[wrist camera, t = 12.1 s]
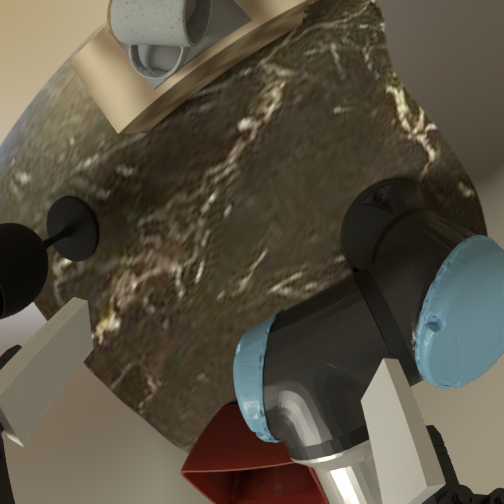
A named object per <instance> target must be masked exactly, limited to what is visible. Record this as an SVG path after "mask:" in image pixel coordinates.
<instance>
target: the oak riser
mask: <svg viewBox="0 0 504 504" xmlns="http://www.w3.org/2000/svg"><path fill="white" fill-rule="evenodd" d="M306 1H307V0H213V1H212V14H211V19H210V24H209V26H208V29H207V33H206V35H205V37H204V39H203V40H202V42H201V43H200V44H199V45H198V46H196V47H190V50H189V54H188V57H187V59H186V62H185V64H184V65H183V67H182V68H181V69H180V70H179V71H178V72H177V73H175V74H174V75H172V76H170V77H168V78H166V79H161V80H154V79H148V78H145V77H143V76H141V75H140V74H139V73H137V72H136V71H135V69H134V68H133V67H132V64H131V62H130V58H129V45H128V44H126V43H121V42H119V41H117V40H116V39H115V38H114V36H113V35H112V34H111V32H110V29H109V27H108V25H106V26H105V27H104V28H103V29H102V30H101V31H100V32H99V33H98V34H97V35H96V36H95V37H94V38H93V39H92V40H91V41H90V42H89V43H88V44H87V45H86V46H85V47H84V48H83V49H82V50H81V51H80V52H79V53H78V54H77V55H76V56H75V57H74V58H73V59H72V60H71V61H70V62H69V63H70V64H71V66H72V67H73V69H74V70H75V72H76V73H77V75H78V76H79V78H80V79H81V81H82V82H83V84H84V85H85V87H86V88H87V90H88V91H89V93H90V94H91V96H92V97H93V99H94V100H95V102H96V103H97V104H98V106H99V107H100V109H101V110H102V112H103V113H104V115H105V116H106V117H107V119H108V120H109V122H110V123H111V125H112V126H113V127H114V129H115V130H116V132H117V133H118V134H128V133H147V132H148V131H150V130H151V129H152V128H153V127H154V126H155V125H157V124H158V123H159V122H160V121H161V120H162V119H164V118H165V117H166V116H167V115H169V114H170V113H171V112H172V111H173V110H175V109H176V108H177V107H178V106H180V105H181V104H182V103H184V102H185V101H186V100H187V99H189V98H190V97H191V96H193V95H194V94H195V93H197V92H198V91H199V90H201V89H202V88H203V87H205V86H206V85H207V84H209V83H210V82H211V81H213V80H214V79H216V78H217V77H218V76H220V75H221V74H223V73H224V72H226V71H227V70H228V69H230V68H231V67H233V66H234V65H236V64H237V63H239V62H240V61H242V60H243V59H245V58H246V57H248V56H250V55H251V54H253V53H254V52H256V51H257V50H259V49H261V48H262V47H264V46H266V45H267V44H269V43H271V42H272V41H274V40H276V39H277V38H279V37H281V36H282V35H284V34H286V33H288V32H289V31H291V30H293V29H295V28H297V27H298V26H300V25H302V20H303V15H304V11H305V6H306ZM138 51H139V57H140V60H141V62H142V64H143V65H144V67H146V68H152V69H154V70H158V71H166V72H169V71H170V70H171V69H172V68H173V67H174V66H175V65H176V63H177V61H178V59H179V56H180V54H181V47H179V46H163V45H138Z"/></svg>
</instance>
